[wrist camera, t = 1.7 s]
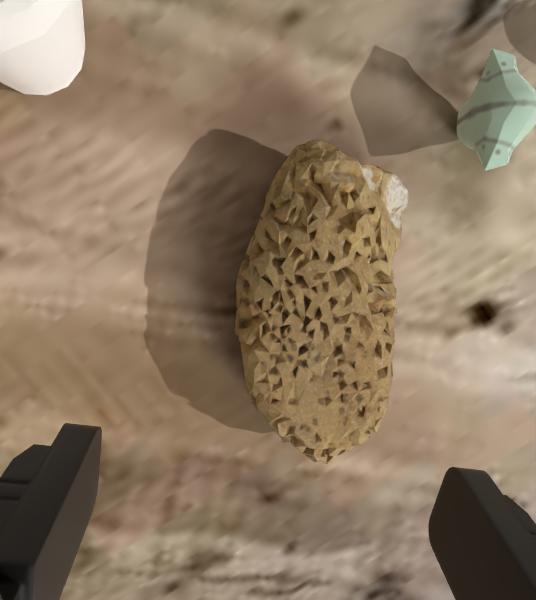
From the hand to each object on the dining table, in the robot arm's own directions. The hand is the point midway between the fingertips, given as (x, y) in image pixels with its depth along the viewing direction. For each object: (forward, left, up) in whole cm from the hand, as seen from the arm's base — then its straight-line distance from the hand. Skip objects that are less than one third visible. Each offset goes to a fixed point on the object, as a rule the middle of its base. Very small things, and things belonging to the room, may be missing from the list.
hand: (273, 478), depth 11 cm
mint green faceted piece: (-10, +23, -24) cm, 35 cm away
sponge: (0, +8, -24) cm, 26 cm away
